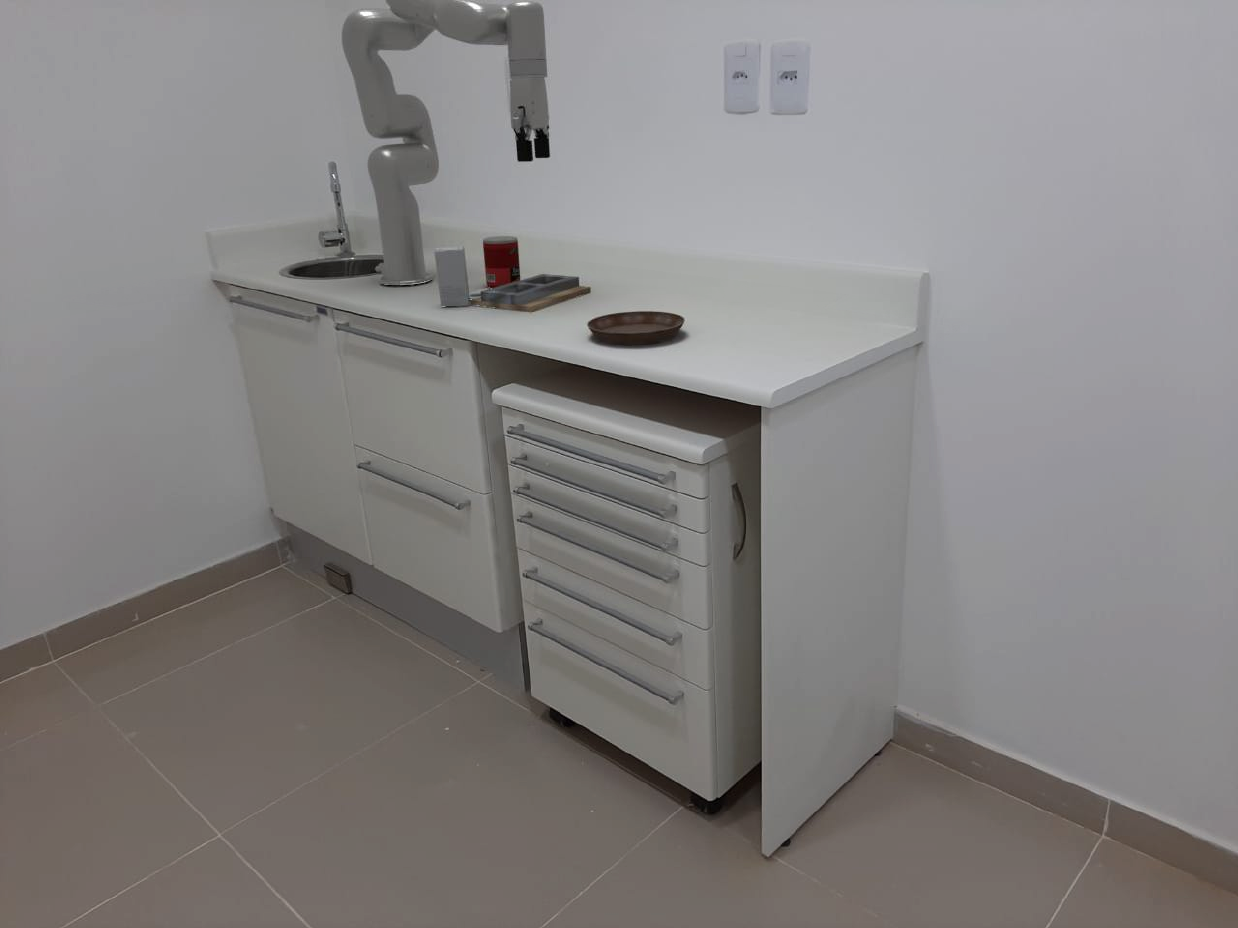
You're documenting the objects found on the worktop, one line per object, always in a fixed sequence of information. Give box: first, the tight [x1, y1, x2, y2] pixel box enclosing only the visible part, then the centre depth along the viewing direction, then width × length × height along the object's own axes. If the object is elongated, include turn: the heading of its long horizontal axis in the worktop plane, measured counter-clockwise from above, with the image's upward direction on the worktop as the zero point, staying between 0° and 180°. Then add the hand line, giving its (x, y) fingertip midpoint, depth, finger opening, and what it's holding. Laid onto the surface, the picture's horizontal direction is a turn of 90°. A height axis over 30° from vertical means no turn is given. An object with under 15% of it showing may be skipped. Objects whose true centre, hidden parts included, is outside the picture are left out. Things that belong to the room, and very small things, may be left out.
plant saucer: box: [586, 310, 685, 346], centre depth 175 cm, size 18×18×3 cm
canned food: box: [482, 235, 521, 289], centre depth 222 cm, size 8×8×11 cm
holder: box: [470, 273, 592, 313], centre depth 209 cm, size 16×22×3 cm
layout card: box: [469, 287, 489, 299], centre depth 214 cm, size 7×10×1 cm
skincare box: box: [434, 246, 471, 307], centre depth 204 cm, size 6×4×12 cm
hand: (534, 159), depth 200 cm, fingers open, 9 cm apart
